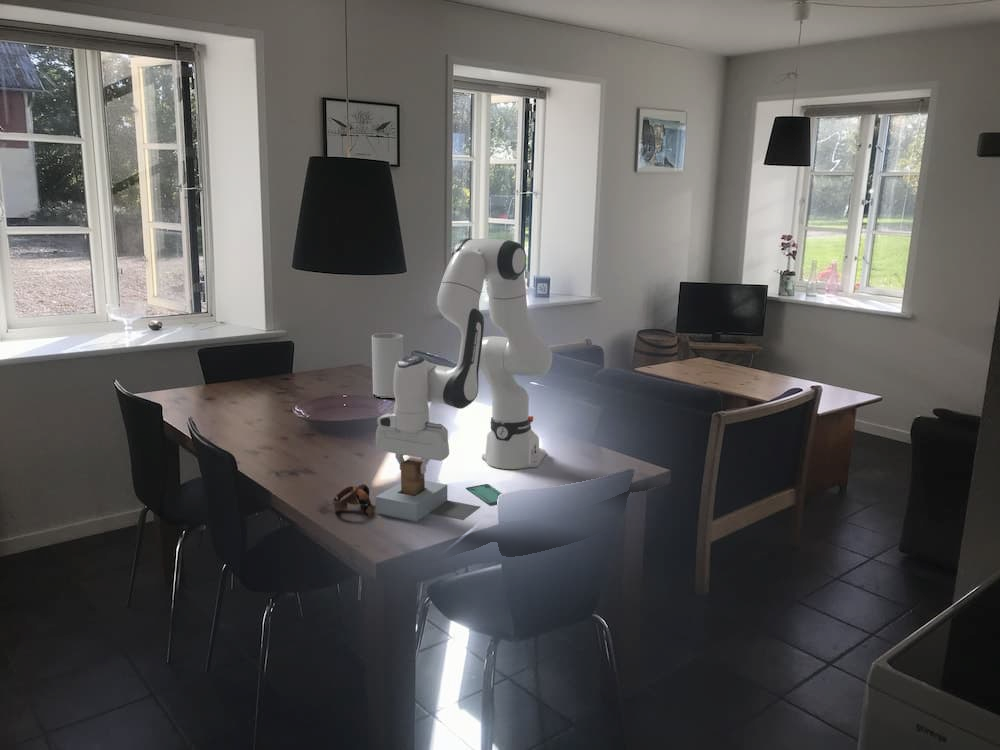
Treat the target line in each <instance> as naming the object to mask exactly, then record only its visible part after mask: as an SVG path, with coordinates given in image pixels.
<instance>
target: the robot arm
mask: <svg viewBox="0 0 1000 750" xmlns="http://www.w3.org/2000/svg"><path fill="white" fill-rule="evenodd" d="M526 265H527V253H526V251H525V249H524V247H523V246H522V244H521V243H519V242H517V241H514V240H510V239H509V240H506V239H500V238H493V237H492V238H488V237H487V238H470V237H469V238H464V239H461V240H459V241H458V242H457V243H456V244H455V245H454V246H453V248H452V250H451V257H450V261H449V262H448V265H447V266H446V268H445V271H444V273H443V276H442V279H441V282H440V286H439V290H438V292H437V297H436V304H437V308H438V311H439V312H440V314H441V315H442V316H443V317H444V318H445V319H446V320H447V321H449V323H451V324H453V325H455V326H456V327H457V328H458V329H459V331H460V334H461V341H460V348H459V356H458V361H457V365H456V366H455V367H450V366H445V365H441V364H435V363H432V362H429V361H427V360H426V358H425V357H423V356H421V355H409V356H408V355H407V356H403V358H402V359H400V360H399V361H397V363H396V366H395V370H394V396H395V398H394V399H395V401H394V402H395V403H394V408H393V411H391V412H388V413H385V414H383V415H381V416H379V417H378V418H377V421H376V422H377V425H378V426H377V428H376V431H375V446H376V448H377V450H378V451H380V452H385V453H392V454H395V459H396V460H397V462H398V464H399V470H400V471H401V463H402V462H404V461H406V460H405V458H404V456H409V457H413V458H419V459H421V461H422V462H423V463H422V465H420V466H418V473H421V474H424V475H425V473H426V472H427V465H428V463H429V461H431V460H432V461H433V460H434V461H439V462H441V461H444V460H445V459H447V458H448V457H449V456H450V446H449V439H448V438H449V437H448V436H449V435H448V433H449V431H448V428H447V427H445V426H444V425H443V424H441V423H434V422H430V406H429V402H433V403H438V404H443V405H447V406H449V407H453V408H455V409H458V410H461V409H465V408H467V407H468V406H470V405H471V404H472V403H473V402H474V401H475V400H476V399H477V397H478V393H479V371H480V372H481V373H482V375H483V376H484V378H485V379H486V382H487V384H488V386H489V389H490V393H491V406H492V410H491V412H492V416H491V417H490V424H489V425H490V431H489V432H488V433H487V434H486V445H485V453H483V454H482V455H481V459H482V460H484V461H485V462H486V464H487V465H489V466H491V467H493V468H497V469H503V470H520V469H524V468H538V467H539V466H540V464H541V462H542V461H543V459H544V457H545V456H546V455H547V450H546V449H544V448H541V447H540V437H539V436H538V434H537V433H535V432H534V431H533V430H532V426H531V425H532V423H533V421H534V416H533V415H529V409H530V408H529V406H530V403H529V401H530V396H529V394H528V391H527V390H526V389H525V388H524V387H523V386H521V385H520V384H519V383H518V382H517V381H516V379H515V376H523V377H537V376H544V375H546V374H547V373H548V372H549V370H550V368H551V367H552V365H553V359H554V358H553V352H552V350H551V348H550V346H549V344H547V343H546V342H544V340H542V339H541V337H540V336H539V335H538V334H537V332H536V331H535V329H534V328H533V327H534V326H533V325H532V323H531V321H530V317H529V311H528V300H527V290H526V289H527V288H526V279H525V273H524V271H525V269H526ZM485 279H486V280H487V290H488V292H487V293H488V304H489V305H488V307H489V309H488V310H489V318H490V321H491V323H492V324H493V325H494V326H495V327H497V328H498V329H499V330H500V331H502V333H503V334H504V335H505V336H496V335H492V336H489V335H488V336H484V331H485V330H484V328H485V320H484V316H483V313H482V312H481V311H480V298H481V294H482V291H483V287H484V283H485ZM514 375H515V376H514Z"/></svg>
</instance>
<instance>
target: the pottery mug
mask: <svg viewBox="0 0 1000 750" xmlns="http://www.w3.org/2000/svg"><path fill="white" fill-rule="evenodd" d="M336 497H337V498H336ZM336 497H334V498H333V499H332V501H331V504H333V511H334V512H341V511H345V512H349V511H348V506H349V505H355V506H356V505H361V506H362V505H363V506H366V505H367V508H366V509H365V512H366V514H367V516H370V515H372V514H373V513H374V512H375V510H374V506H373V505H372V502H371V500H370V488H369V487H368V485H366V484H364V483H362V484H359V485H358V486H356V485H354V484H353V485H349V486H346V487H345V488H342V490H340V491H339V492H338V493H337V494H336ZM348 504H349V505H348Z"/></svg>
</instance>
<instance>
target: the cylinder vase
mask: <svg viewBox="0 0 1000 750" xmlns="http://www.w3.org/2000/svg"><path fill="white" fill-rule="evenodd" d="M402 358H404V335H403V334H400V333H391V332H389V333H388V332H387V333H385V332H384V333H375V334H372V335H371V364H372V365H371V368H372V369H371V370H372V371H371V373H372V395H373V394H375V395H377V396H389V397H395V396H394V370H395V366H396V363H397V361H399V360H400V359H402Z"/></svg>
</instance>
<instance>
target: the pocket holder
mask: <svg viewBox="0 0 1000 750" xmlns="http://www.w3.org/2000/svg"><path fill="white" fill-rule="evenodd" d="M447 500H448V484H445V483H440V482H435V481H429V480H425V490H424V491H423V492H421V493H419V494H418V495H416V496H411V495H406V494H401V482H399V483H397V484H396V485H394V486H391V487H390V488H388V489H386V490H385V491H383V492H381V493H380V494H378V495H376V496H375V514H379V515H383V516H387V517H393V518H397V519H402V520H407V521H408V520H409V521H411V522H418V521H420V520H421V519H422V518H423V517H425V516H428V514H430V513H429V512H431V511H432V510H434V509H435V508H437V507H438V506H440V505H441V504H443V503H444V502H446V501H447Z"/></svg>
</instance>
